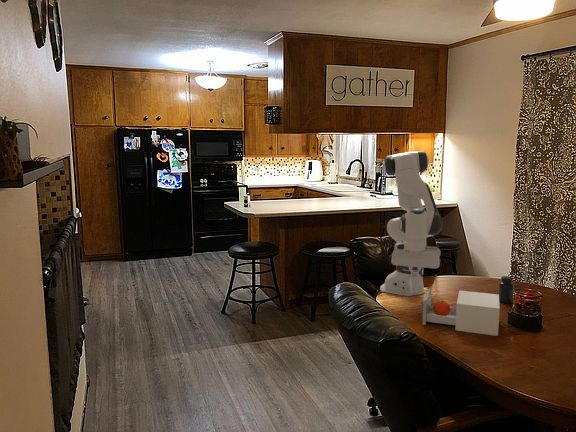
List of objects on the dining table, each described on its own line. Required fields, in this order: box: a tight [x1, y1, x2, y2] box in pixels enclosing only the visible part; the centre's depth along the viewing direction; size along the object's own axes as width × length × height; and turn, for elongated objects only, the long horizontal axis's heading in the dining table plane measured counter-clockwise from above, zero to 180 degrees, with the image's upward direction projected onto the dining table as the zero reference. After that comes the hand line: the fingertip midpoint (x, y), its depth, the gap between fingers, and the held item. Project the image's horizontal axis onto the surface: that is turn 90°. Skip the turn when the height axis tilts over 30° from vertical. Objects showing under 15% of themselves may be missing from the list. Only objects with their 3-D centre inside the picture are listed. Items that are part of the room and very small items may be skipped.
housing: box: [455, 290, 500, 337], centre depth 198 cm, size 16×18×12 cm
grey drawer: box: [421, 287, 456, 326], centre depth 204 cm, size 16×18×11 cm
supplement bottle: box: [497, 275, 515, 304], centre depth 226 cm, size 7×7×12 cm
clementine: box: [433, 299, 451, 316], centre depth 204 cm, size 8×7×7 cm
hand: (414, 276), depth 206 cm, fingers closed
